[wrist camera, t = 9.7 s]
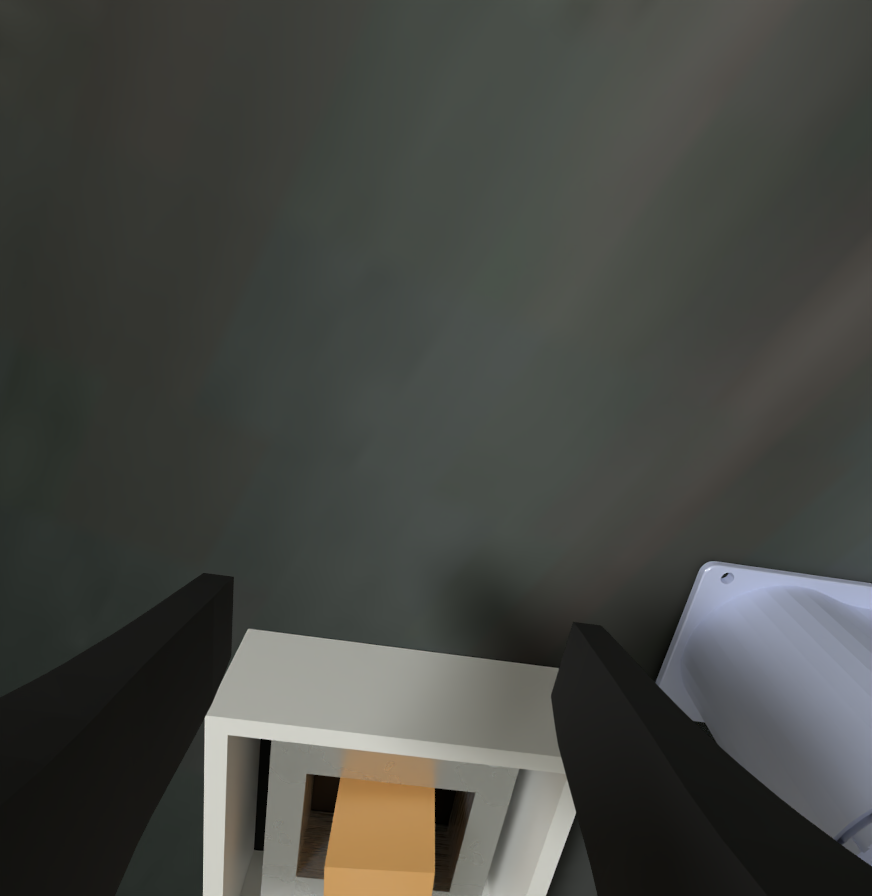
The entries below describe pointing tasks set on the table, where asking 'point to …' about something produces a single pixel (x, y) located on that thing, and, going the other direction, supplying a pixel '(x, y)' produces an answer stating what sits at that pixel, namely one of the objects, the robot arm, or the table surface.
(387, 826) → the light brown rectangular block
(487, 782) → the inlet socket
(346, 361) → the table surface
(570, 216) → the table surface
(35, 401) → the table surface
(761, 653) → the robot arm
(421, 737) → the walled box
